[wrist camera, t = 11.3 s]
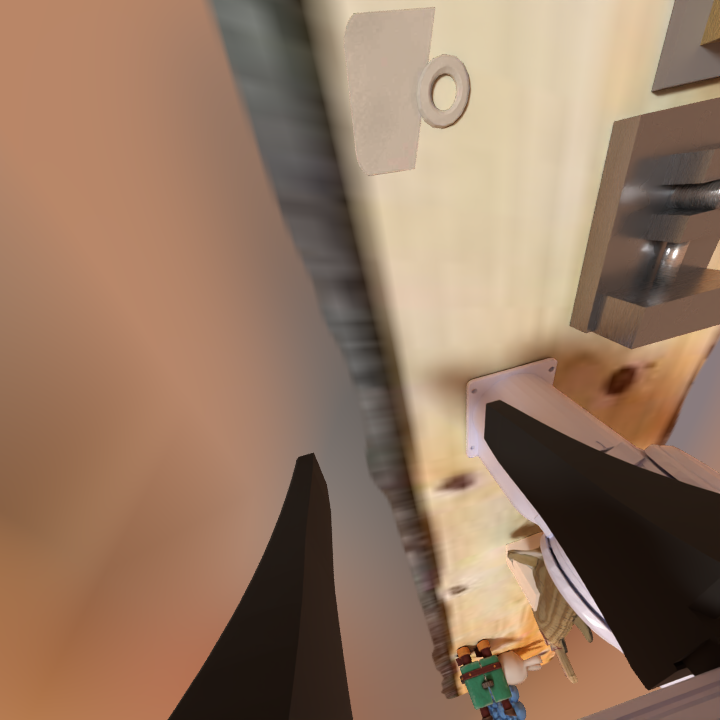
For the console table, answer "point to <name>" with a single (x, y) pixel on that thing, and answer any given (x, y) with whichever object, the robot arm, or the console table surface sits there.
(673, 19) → the rubber mat
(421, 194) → the console table surface
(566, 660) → the wood carving
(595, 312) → the gray fixture base
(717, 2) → the wooden hollow block
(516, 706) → the grapes
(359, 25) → the mounting bracket
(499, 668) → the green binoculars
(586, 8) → the console table surface
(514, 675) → the bunny figurine
